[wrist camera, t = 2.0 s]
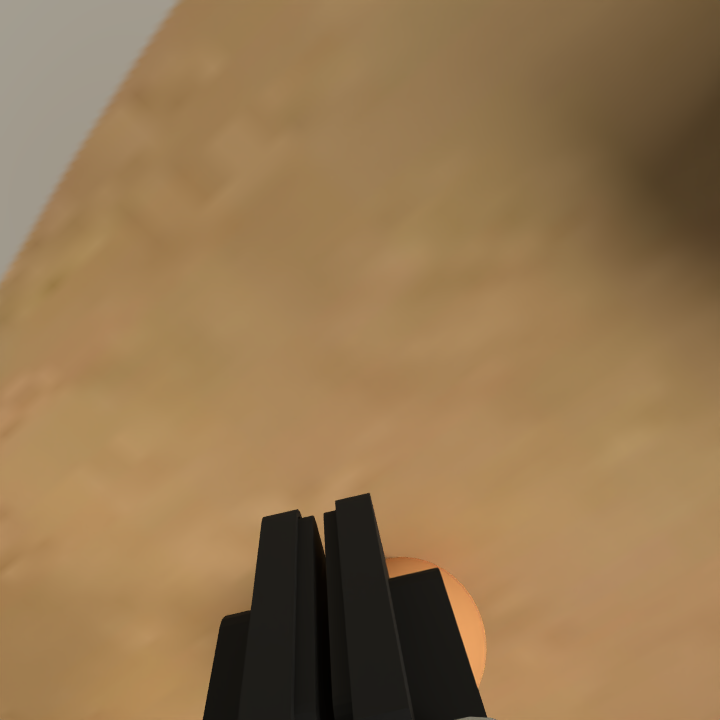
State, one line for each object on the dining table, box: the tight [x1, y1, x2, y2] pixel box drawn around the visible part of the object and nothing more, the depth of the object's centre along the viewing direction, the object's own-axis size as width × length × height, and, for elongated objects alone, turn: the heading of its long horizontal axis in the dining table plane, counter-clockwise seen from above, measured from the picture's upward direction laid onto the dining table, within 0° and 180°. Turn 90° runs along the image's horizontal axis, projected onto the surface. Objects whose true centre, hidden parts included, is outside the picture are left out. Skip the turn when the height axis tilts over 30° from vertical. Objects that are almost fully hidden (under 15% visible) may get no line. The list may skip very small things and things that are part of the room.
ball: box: [385, 557, 486, 687], centre depth 22 cm, size 6×6×6 cm
